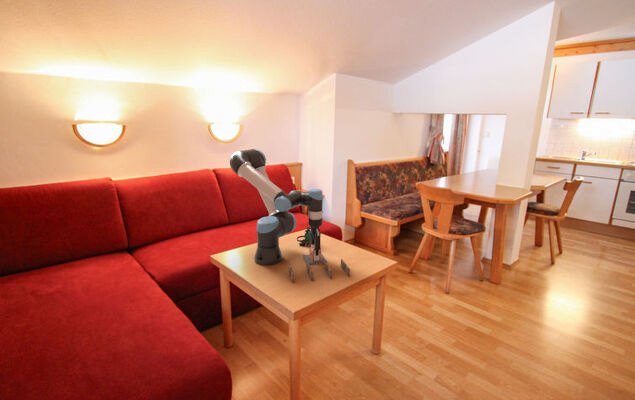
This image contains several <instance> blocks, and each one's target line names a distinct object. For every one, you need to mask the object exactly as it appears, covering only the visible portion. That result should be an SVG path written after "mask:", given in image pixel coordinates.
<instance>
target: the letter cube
mask: <svg viewBox="0 0 635 400" xmlns="http://www.w3.org/2000/svg"><path fill="white" fill-rule="evenodd" d="M308 249H309V251H308V253H309V254H308V255H309V257H310V259H311V261H314V250H313V249H315V247H311V246H308ZM321 253H322V249H320V250H319V260H321Z"/></svg>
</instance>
